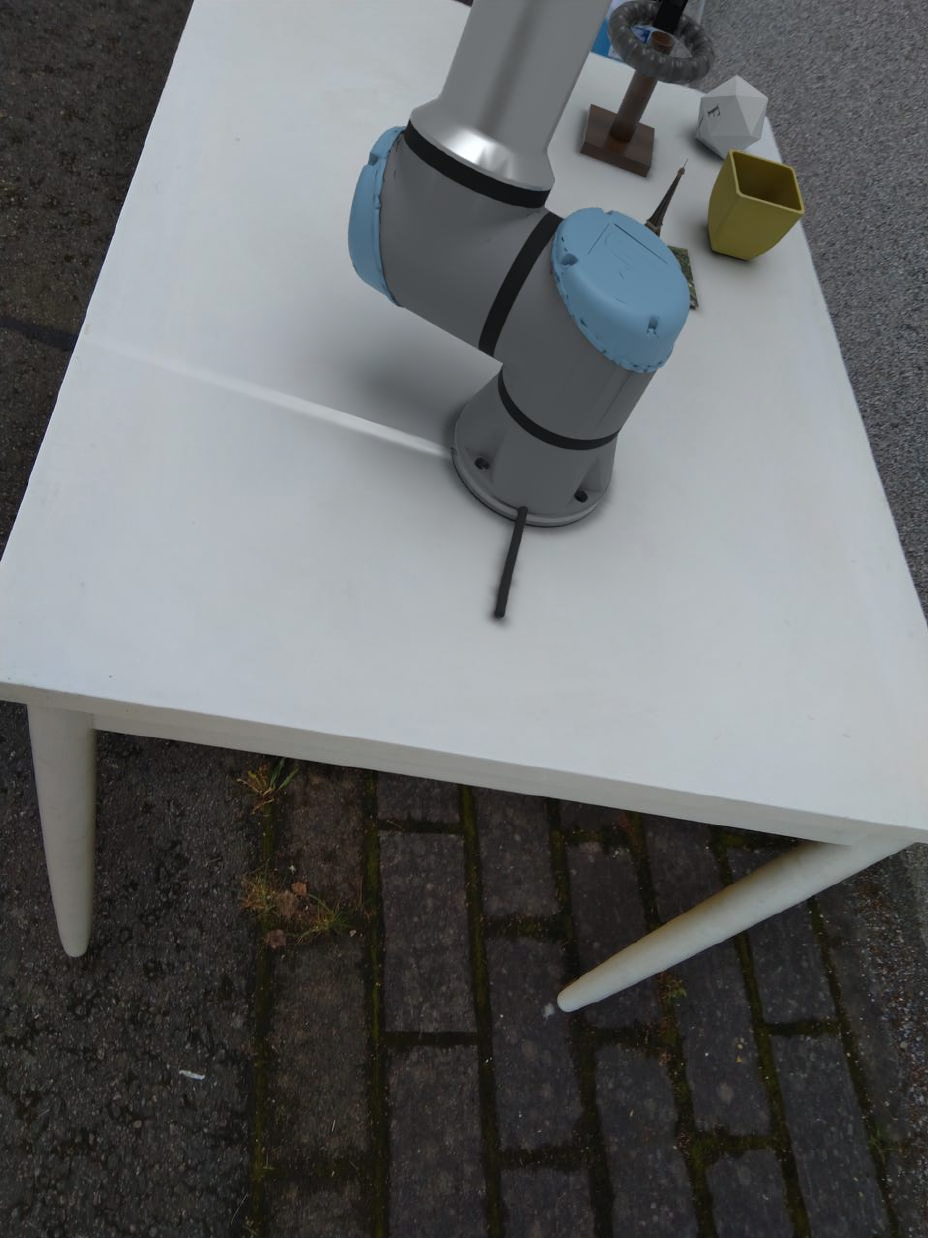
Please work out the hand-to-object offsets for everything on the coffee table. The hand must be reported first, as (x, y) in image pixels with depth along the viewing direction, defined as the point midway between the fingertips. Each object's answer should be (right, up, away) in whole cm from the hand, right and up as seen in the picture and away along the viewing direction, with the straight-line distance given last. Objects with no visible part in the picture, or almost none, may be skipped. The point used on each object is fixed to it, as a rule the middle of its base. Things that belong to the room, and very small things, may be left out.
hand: (663, 21), depth 108 cm
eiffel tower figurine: (-5, -31, -4) cm, 32 cm away
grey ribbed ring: (-1, -4, -3) cm, 5 cm away
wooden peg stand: (-4, -11, +8) cm, 14 cm away
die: (+10, -7, +15) cm, 20 cm away
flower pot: (+9, -25, +4) cm, 27 cm away
